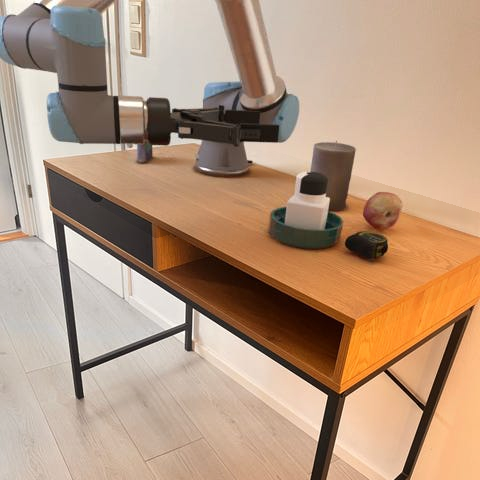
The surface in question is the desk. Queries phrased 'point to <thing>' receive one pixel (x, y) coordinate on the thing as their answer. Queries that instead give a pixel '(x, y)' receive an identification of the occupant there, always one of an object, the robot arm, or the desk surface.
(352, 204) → the desk surface
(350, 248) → the tape measure
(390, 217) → the fruit
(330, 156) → the pillar candle
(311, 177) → the medicine bottle
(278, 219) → the bowl
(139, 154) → the flask
